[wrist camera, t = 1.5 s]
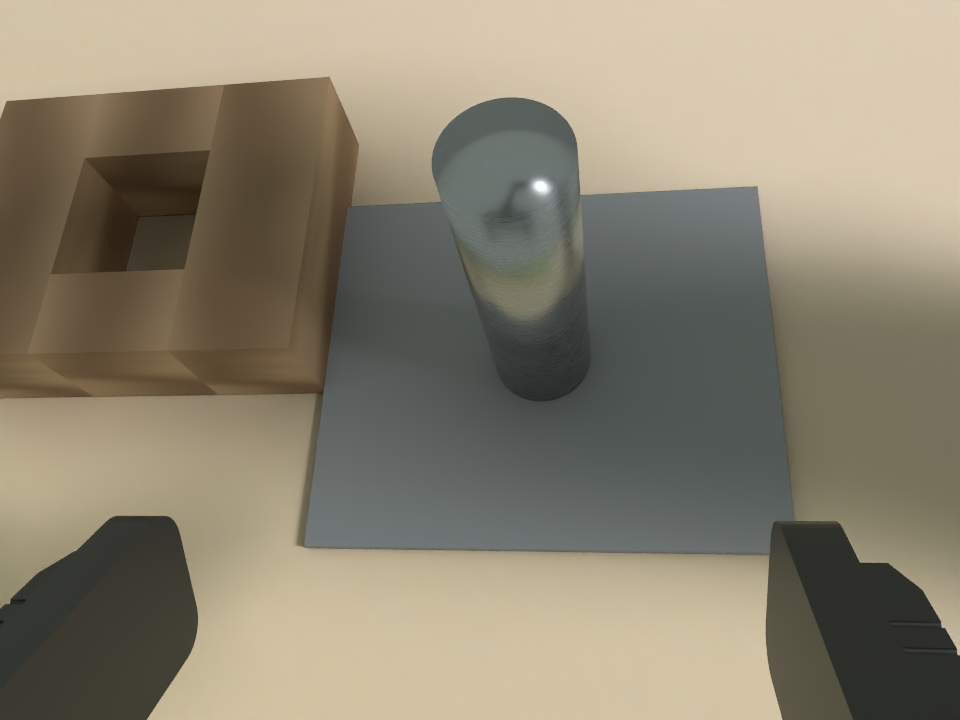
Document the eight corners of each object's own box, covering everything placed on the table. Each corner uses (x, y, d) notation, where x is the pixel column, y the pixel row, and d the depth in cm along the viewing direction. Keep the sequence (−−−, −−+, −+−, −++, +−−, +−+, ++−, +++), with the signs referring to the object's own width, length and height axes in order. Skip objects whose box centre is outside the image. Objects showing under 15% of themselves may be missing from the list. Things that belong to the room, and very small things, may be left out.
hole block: (358, 144, 31) (329, 77, 28) (326, 393, 27) (288, 347, 24) (65, 162, 33) (6, 101, 30) (-7, 398, 29) (-84, 356, 26)
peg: (590, 312, 26) (577, 93, 17) (591, 400, 25) (577, 213, 16) (496, 315, 27) (436, 102, 18) (493, 402, 26) (426, 220, 17)
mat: (755, 191, 28) (757, 186, 27) (795, 555, 23) (797, 553, 23) (350, 211, 30) (347, 207, 30) (307, 548, 25) (303, 545, 25)
